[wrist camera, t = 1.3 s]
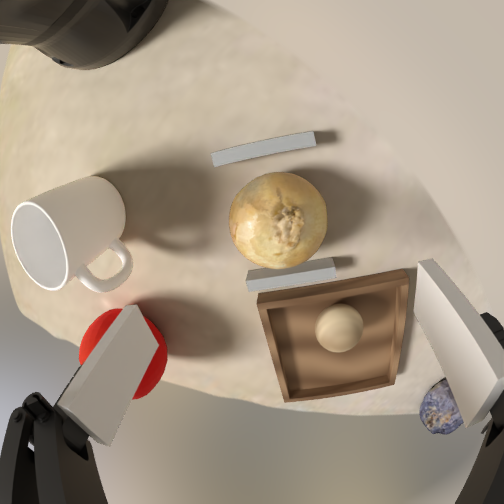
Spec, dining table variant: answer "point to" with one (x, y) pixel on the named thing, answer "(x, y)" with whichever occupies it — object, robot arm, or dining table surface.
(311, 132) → the cradle
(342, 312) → the ball
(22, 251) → the cup
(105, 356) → the robot arm
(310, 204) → the onion
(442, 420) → the rock
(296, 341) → the tray
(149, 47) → the dining table surface
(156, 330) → the tomato
